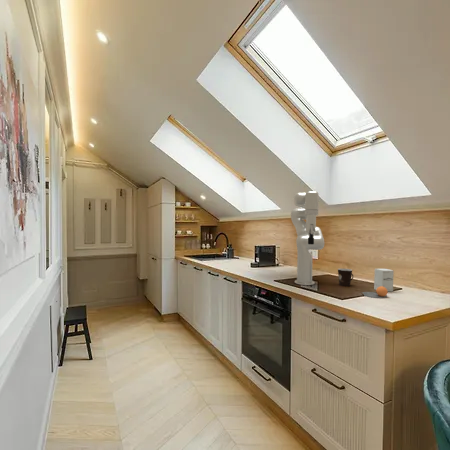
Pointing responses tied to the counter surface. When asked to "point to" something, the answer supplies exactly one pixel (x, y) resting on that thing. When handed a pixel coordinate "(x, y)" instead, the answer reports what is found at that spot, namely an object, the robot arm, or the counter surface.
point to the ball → (381, 291)
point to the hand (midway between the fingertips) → (310, 244)
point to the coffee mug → (345, 277)
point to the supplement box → (384, 279)
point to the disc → (373, 295)
